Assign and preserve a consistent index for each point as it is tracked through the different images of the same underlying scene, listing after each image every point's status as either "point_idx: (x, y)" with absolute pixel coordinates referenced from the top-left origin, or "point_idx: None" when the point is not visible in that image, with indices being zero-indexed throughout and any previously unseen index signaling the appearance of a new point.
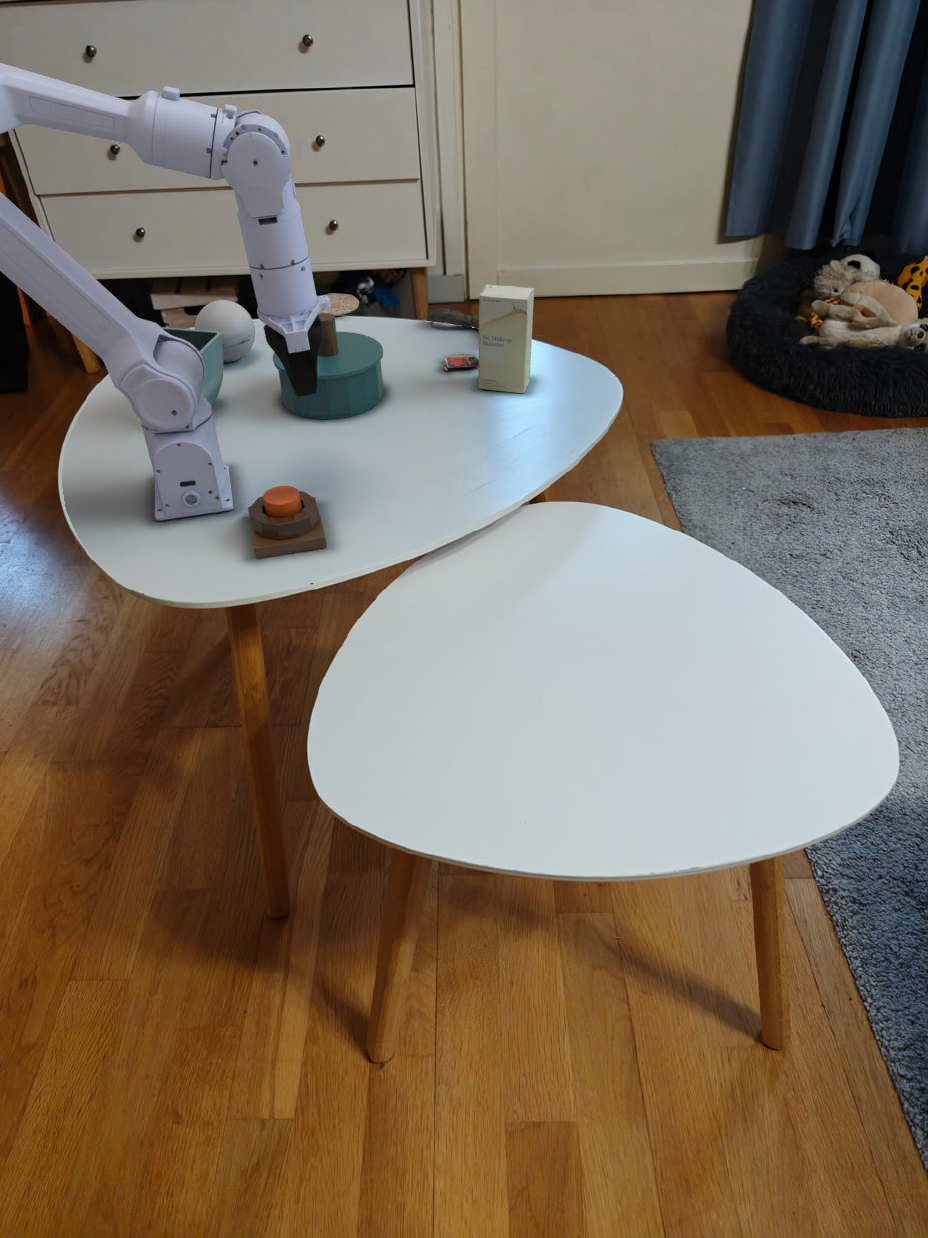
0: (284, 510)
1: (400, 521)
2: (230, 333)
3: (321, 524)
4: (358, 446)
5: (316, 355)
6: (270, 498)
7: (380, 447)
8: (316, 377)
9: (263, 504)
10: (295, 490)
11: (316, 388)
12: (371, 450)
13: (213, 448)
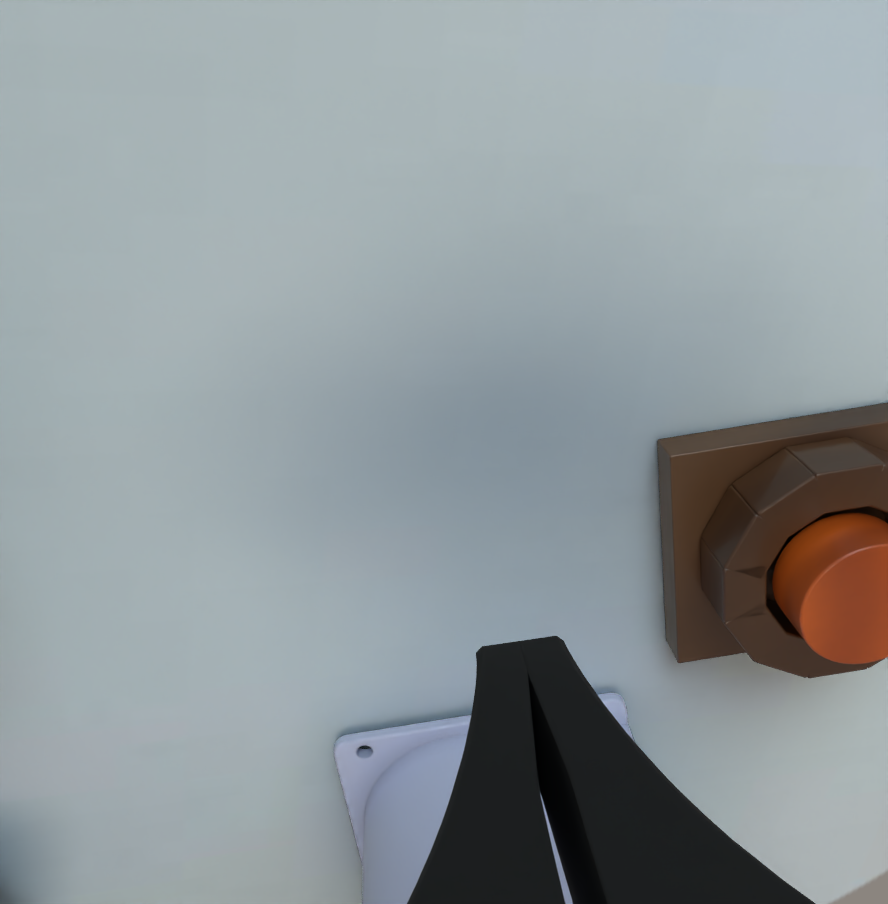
0: None
1: (855, 106)
2: None
3: (870, 425)
4: (175, 279)
5: (727, 836)
6: (884, 639)
7: (188, 173)
8: (599, 700)
9: (804, 640)
10: (858, 560)
11: (568, 652)
12: (217, 219)
13: (562, 878)
